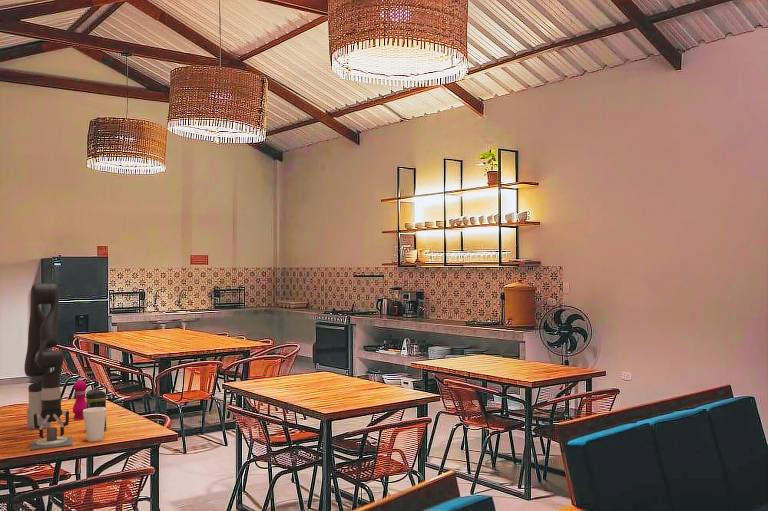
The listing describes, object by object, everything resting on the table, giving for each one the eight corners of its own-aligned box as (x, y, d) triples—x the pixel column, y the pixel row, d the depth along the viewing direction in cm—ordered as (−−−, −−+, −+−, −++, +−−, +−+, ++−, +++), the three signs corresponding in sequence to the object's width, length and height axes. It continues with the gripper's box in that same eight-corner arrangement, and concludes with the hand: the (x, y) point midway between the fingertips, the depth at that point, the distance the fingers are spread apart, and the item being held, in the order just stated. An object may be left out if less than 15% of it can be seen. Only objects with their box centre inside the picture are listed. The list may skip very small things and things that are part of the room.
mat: (30, 450, 301) (30, 448, 301) (31, 442, 315) (31, 440, 315) (72, 445, 307) (72, 444, 307) (72, 437, 322) (72, 436, 322)
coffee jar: (108, 430, 334) (107, 390, 334) (90, 433, 329) (89, 392, 329) (102, 427, 342) (101, 387, 342) (84, 429, 337) (84, 389, 337)
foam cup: (98, 442, 312) (97, 411, 312) (79, 441, 314) (78, 411, 314) (111, 437, 321) (110, 407, 321) (92, 436, 323) (91, 407, 323)
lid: (31, 446, 305) (31, 432, 305) (43, 439, 317) (43, 425, 317) (60, 445, 305) (60, 431, 305) (71, 438, 317) (71, 424, 317)
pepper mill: (75, 417, 366) (74, 377, 366) (90, 416, 367) (89, 376, 367) (70, 420, 359) (69, 379, 359) (85, 419, 360) (85, 378, 360)
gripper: (32, 400, 305) (32, 440, 305) (69, 397, 311) (70, 436, 311) (32, 398, 312) (33, 437, 312) (69, 394, 318) (70, 433, 317)
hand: (51, 436), depth 311 cm, fingers open, 7 cm apart
